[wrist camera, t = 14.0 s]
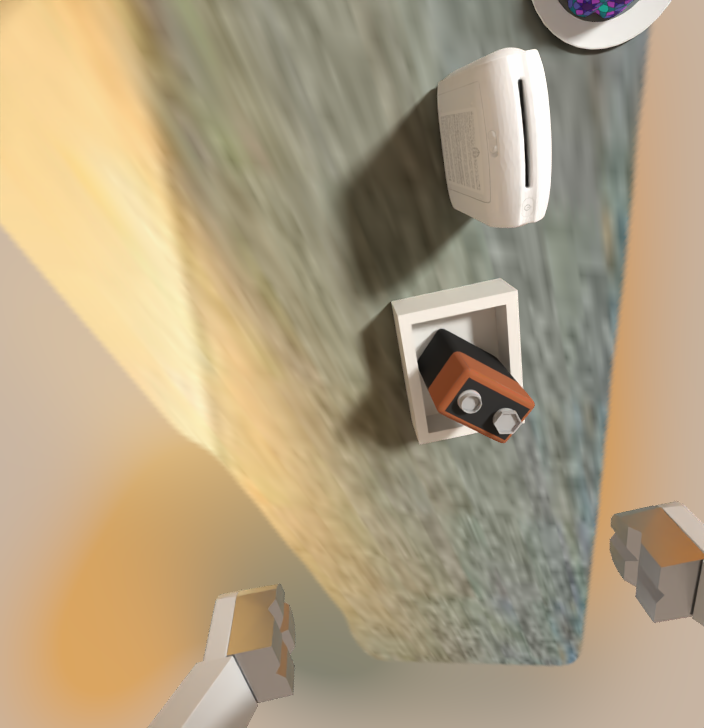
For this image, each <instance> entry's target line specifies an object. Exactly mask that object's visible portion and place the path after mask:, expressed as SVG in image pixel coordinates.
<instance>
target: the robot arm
mask: <svg viewBox="0 0 704 728" xmlns="http://www.w3.org/2000/svg"><path fill="white" fill-rule="evenodd" d="M611 527H612V528H613V530H614V531H615V534H614V535H613V536H612V538H611V539H610V552H611V556H612V560H613V562H614V564H615V566H616V568H617V570H618V572H619V573H620V575H621V576H622V578H623V579H624V580H625V581H627V582H628V583H630V584H632V585H634V586H636V598H637V599H638V601H639V602H640V604H641V605H642V607H643V608H644V609H645V611H646V612H647V614H648V615H649V617H650V618H651V619H652V621H653V622H654V623H656V622H662V621H667V620H674V619H680V618H686V617H692V616H693V617H692V618H693V619H694V620H696V621H697V622H698V623H700V624H701V625H703V626H704V524H703V523H702V522H701V521H700V520H699V519H698V518H697V517H696V516H695V515H694V514H693V513H692V512H691V511H690V510H689V509H688V508H687V507H686V506H685V505H684V504H683V503H680V502H678V501H675V502H670V503H665V504H661V505H656V506H649V507H645V508H640V509H636V510H631V511H626V512H622V513H617V514H614V515H613V516H612V518H611ZM284 597H285V592H284V590H283V588H282V586H281V584H275V585H270V586H264V587H258V588H253V589H246V590H241V591H236V592H231V593H226V594H220V595H219V596H218V598H217V600H216V602H215V606H214V611H213V616H212V620H211V625H210V630H209V635H208V640H207V644H206V649H205V654H204V659H203V662H199V663H196V665H195V666H194V667H193V669H192V670H191V671H190V672H189V674H188V675H187V676H186V678H185V679H184V681H183V682H182V683H181V684H180V686H179V687H178V688H177V689H176V691H175V692H174V694H173V695H172V696H171V697H170V699H169V700H168V701H167V703H166V704H165V705H164V707H163V708H162V709H161V711H160V712H159V713H158V714H157V716H156V717H155V718H154V720H153V721H152V723H151V724H150V725H149V726H148V728H247V726H248V724H249V722H250V720H251V718H252V716H253V714H254V712H255V710H256V709H257V707H258V704H257V703H260V702H265V701H269V700H273V699H278V698H282V697H286V696H290V695H293V692H294V691H293V690H294V667H295V665H294V663H293V660H292V658H291V655H290V654H291V652H292V651H293V649H294V647H295V624H294V618H293V614H292V611H291V608H290V605H289V604H287V603H285V602H284Z"/></svg>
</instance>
